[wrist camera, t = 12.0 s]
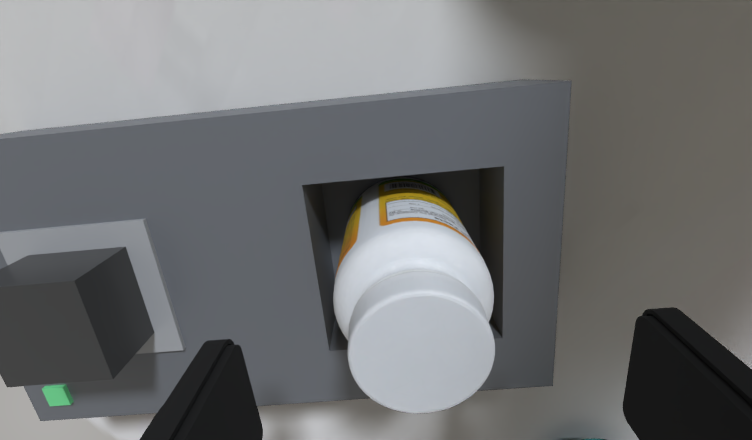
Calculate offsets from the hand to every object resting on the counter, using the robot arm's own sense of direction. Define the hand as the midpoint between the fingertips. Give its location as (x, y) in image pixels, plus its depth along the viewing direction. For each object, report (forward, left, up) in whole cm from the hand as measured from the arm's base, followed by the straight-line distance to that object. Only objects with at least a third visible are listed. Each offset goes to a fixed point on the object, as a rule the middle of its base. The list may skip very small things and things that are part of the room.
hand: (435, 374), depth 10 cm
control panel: (+6, 0, -12) cm, 13 cm away
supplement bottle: (0, 0, -11) cm, 11 cm away
